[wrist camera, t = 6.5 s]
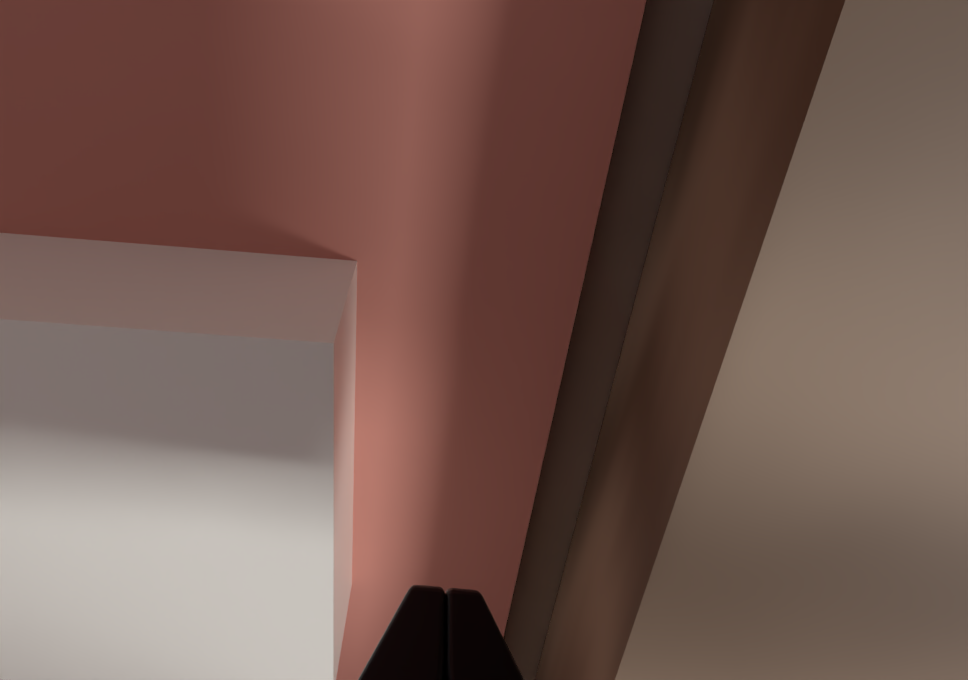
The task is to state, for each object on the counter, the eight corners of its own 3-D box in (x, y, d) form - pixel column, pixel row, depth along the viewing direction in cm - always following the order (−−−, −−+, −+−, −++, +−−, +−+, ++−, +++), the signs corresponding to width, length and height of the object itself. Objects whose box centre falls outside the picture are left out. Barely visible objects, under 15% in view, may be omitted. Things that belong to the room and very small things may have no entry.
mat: (482, 714, 19) (482, 730, 18) (-61, 673, 18) (-72, 689, 17) (688, -219, 10) (696, -222, 9) (-383, -408, 9) (-418, -418, 8)
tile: (-30, 678, 13) (39, 566, 16) (333, 695, 14) (352, 583, 16) (-157, 307, 10) (-47, 228, 12) (333, 343, 10) (357, 260, 12)
